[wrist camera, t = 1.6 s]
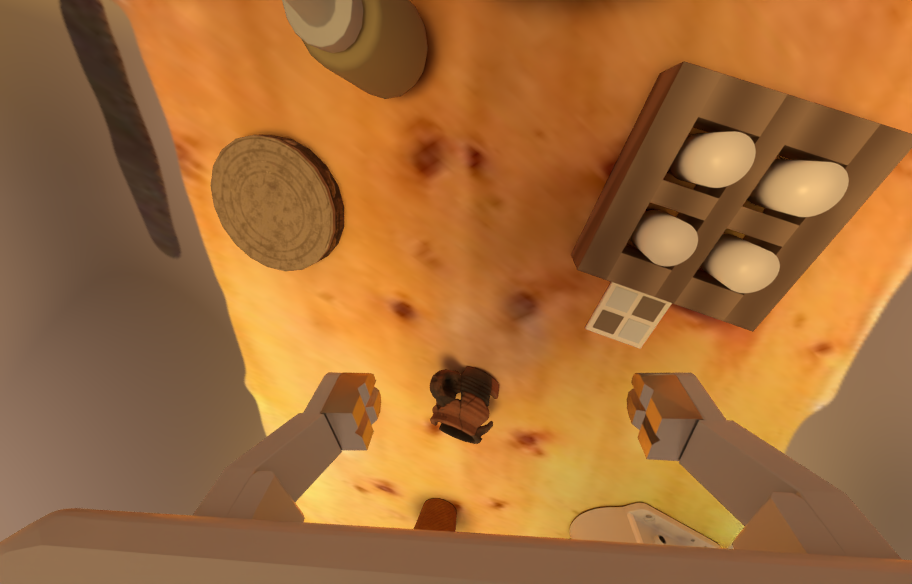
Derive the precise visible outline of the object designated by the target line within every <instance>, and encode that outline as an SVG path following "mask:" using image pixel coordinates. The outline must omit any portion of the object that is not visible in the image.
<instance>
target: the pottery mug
mask: <svg viewBox="0 0 912 584" xmlns="http://www.w3.org/2000/svg"><path fill="white" fill-rule="evenodd" d="M430 391H431V393H432V395H433V397H434V398H435V399H436V402H437V403H436V405H435V406H434V407H433V416H432V417H431V419H430V421H431V423H432V424H434V425H435V426H436V425H437V423H438V422H441V426H440V428H439V429H440V430H441V431H443V432H444V433H446V434H448V435H450V436H452V437H454V438H457V439H459V440H462V441H465V442H469V443H473V444H478V443H480V442H481V440H482V438H481V436H482V435H483V434H485V433H487V432H488V431H489V430H490V428H491V427H492V426H493V422H492V421H490V422H489V423H488V424H487V425H484V426H481V425H482V424H483V423H484V422H485V421H486V420H487V419H488V418H489V409H488V406H489V399H490V395H491V396H492V397H493V398H494V399H497V398H498V393H499V384H498V382H497V381H496V380H495V379H493V378H492V377H491V376H489V375H488V374H486V373H485V372H483V371H481V370H479V369H476V368H473V367H468V366H467V367H466V368H465V371H464V372H463V374H462V375H460V373H459V372H458V371H451V370H447V369H445V370H441V371H438V372H437V373H436V374H435V375H433V377H432V379H431V382H430ZM460 392H461V400H459V399H455V398H456V394H458V393H460Z"/></svg>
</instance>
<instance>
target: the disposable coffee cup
mask: <svg viewBox="0 0 912 584" xmlns="http://www.w3.org/2000/svg"><path fill="white" fill-rule="evenodd" d="M456 514H457V512H456V509H455V508H454V506H453V505H452V504H450V503H449V502H447V501H445V500H442V499H437V498H433V499H429V500H427V501H426V502H425V503H424V505H423V508H422V510H421V513H420V515H419V517H418V520H417V522H416V525H415V527H414V529H418V530H434V531H450V532H455V529H456Z"/></svg>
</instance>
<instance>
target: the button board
mask: <svg viewBox="0 0 912 584" xmlns="http://www.w3.org/2000/svg"><path fill="white" fill-rule="evenodd" d="M692 127H694V128H697V129H700V130H703V131H706V132H709V133H714V132H733V131H735V132H741V133H744V134H746V135H747V136H749V137H750V138H751V139H752V141H753V143H754V145H755V150H756V154H755V159H754V162H753V164H752V166H751V168H750V170H749V171H748V172H747V173H746V174H745V175H744V176H743V177H742V178H741V179H740V180H738V181H737V182H735V183H733V184H731V185H729V186H726V187H721V188H712V187H707V186H703V185H699V184H696V186H695V188H694V189H693V190H692V189H689V188H686V187H683V186H680V185H677V184H674V183H671V182H668V181H665V180H663V178H664V177H665V175H666V173H667V171H668V169H669V168H670V166H671V164H672V162H673V161H674V159H675V157H676V155H677V154H678V152H679V150H680V148H681V146H682V145H683V143H684V141H685V139H686V138H687V136H688V134H689V132H690V131H691V129H692ZM911 148H912V134H911V133H908V132H904V131H901V130H898V129H895V128H892V127H889V126H886V125H882V124H879V123H876V122H873V121H870V120H867V119H864V118H860V117H857V116H854V115H851V114H848V113H845V112H842V111H838V110H835V109H832V108H829V107H826V106H823V105H820V104H817V103H813V102H810V101H807V100H804V99H801V98H798V97H795V96H791V95H788V94H785V93H782V92H779V91H776V90H773V89H769V88H766V87H763V86H760V85H757V84H754V83H751V82H747V81H744V80H741V79H738V78H735V77H732V76H729V75H725V74H722V73H719V72H716V71H713V70H710V69H707V68H703V67H700V66H697V65H694V64H691V63H688V62H685V61H684V62H682V63H680V64H678V65H676V66H674V67H672V68H670V69H668V70H666V71H664V72H662V73H660V74H659V76H658V78H657V81H656V83H655V85H654V87H653V89H652V91H651V93H650V95H649V97H648V99H647V101H646V103H645V105H644V107H643V109H642V111H641V113H640V115H639V117H638V119H637V121H636V123H635V125H634V127H633V129H632V131H631V134H630V136H629V138H628V140H627V142H626V144H625V146H624V148H623V150H622V152H621V154H620V156H619V158H618V160H617V162H616V164H615V166H614V168H613V170H612V172H611V174H610V176H609V178H608V180H607V182H606V184H605V186H604V189H603V191H602V193H601V195H600V197H599V199H598V201H597V203H596V205H595V207H594V209H593V211H592V213H591V215H590V217H589V219H588V221H587V223H586V225H585V227H584V229H583V231H582V233H581V235H580V237H579V239H578V242H577V244H576V246H575V248H574V250H573V252H572V254H571V256H572V258H573V261H574V263H575V265H576V268H577V270H579V271H582V272H585V273H588V274H591V275H593V276H596V277H599V278H602V279H605V280H608V281H610V282H613V283H616V284H619V285H622V286H625V287H628V288H630V289H633V290H636V291H639V292H642V293H645V294H647V295H650V296H653V297H656V298H659V299H662V300H665V301H667V302H670V303H673V304H676V305H679V306H682V307H685V308H687V309H690V310H693V311H696V312H699V313H702V314H704V315H707V316H710V317H713V318H716V319H719V320H722V321H724V322H727V323H730V324H733V325H736V326H739V327H741V328H744V329H747V330H750V331H754V330H755V329H756V328H757V326H758V325H759V324H760V323H761V322H762V321H763V319H764V318H765V317H766V316H767V315H768V314H769V313H770V311H771V310H772V309H773V308H774V307H775V306H776V304H777V303H778V302H779V301H780V300H781V299H782V298H783V296H784V295H785V294H786V293H787V292H788V291H789V289H790V288H791V287H792V286H793V285H794V284H795V283H796V281H797V280H798V279H799V278H800V277H801V276H802V274H803V273H804V272H805V271H806V270H807V269H808V267H809V266H810V265H811V264H812V263H813V262H814V261H815V259H816V258H817V257H818V256H819V255H820V254H821V252H822V251H823V250H824V249H825V248H826V247H827V246H828V244H829V243H830V242H831V241H832V240H833V239H834V237H835V236H836V235H837V234H838V233H839V232H840V230H841V229H842V228H843V227H844V226H845V225H846V224H847V222H848V221H849V220H850V219H851V218H852V217H853V215H854V214H855V213H856V212H857V211H858V210H859V209H860V207H861V206H862V205H863V204H864V203H865V202H866V200H867V199H868V198H869V197H870V196H871V195H872V194H873V192H874V191H875V190H876V189H877V188H878V187H879V185H880V184H881V183H882V182H883V181H884V180H885V178H886V177H887V176H888V175H889V174H890V173H891V172H892V170H893V169H894V168H895V167H896V166H897V165H898V163H899V162H900V161H901V160H902V159H903V158H904V157H905V155H906V154H907V153H908V152H909V151H910V150H911ZM777 155H780V156H783V157H786V158H789V159H792V160H805V161H821V162H833V163H836V164H839V165H840V166H842V167H843V168H844V169H845V170H846V171H847V174H848V177H849V183H848V187H847V190H846V192H845V194H844V196H843V197H842V198H841V200H840V201H839V202H838V203H837V204H836V205H834V206H833V207H832V208H830V209H829V210H827V211H825V212H823V213H821V214H819V215H815V216H811V217H798V216H794V215H791V214H787V213H783V212H779V211H776V210H772V209H768V208H766V209H765V210H764V211H763V213H761V212H758V211H755V210H752V209H749V208H746V207H743V204H744V203H745V201H746V200H747V198H748V197H749V195H750V194H751V193H752V191H753V190H754V188H755V187H756V185H757V184H758V183H759V181H760V180H761V178H762V177H763V175H764V174H765V173H766V171H767V170H768V168H769V167H770V165H771V164H772V162H773V161H774V160H775V158H776V157H777ZM650 202H651V203H654V204H657V205H660V206H663V207H666V208H669V209H672V210H674V211H677V212H679V214H678V215H677V217H676V218H678V219H680V220H682V221H684V222H686V223H688V224H690V225H691V226H692V227H693V228H694V229H695V230H696V232H697V235H698V244H697V247H696V249H695V251H694V253H693V254H692V255H691V256H690V257H689V258H688V259H687V260H685V261H684V262H682V263H680V264H678V265H674V266H660V265H657V264H655V263H653V262H652V261H651V260H650V259H649V258H648V257H647V256H645V255H644V254H643V253H642V252H641V251H640V250H639V249H636V248H634V247H631V246H628V245H626V244H627V242H628V240H629V239H630V237H631V235H632V233H633V231H634V230H635V228H636V226H637V224H638V223H639V221H640V219H641V217H642V215H643V214H644V212H645V210H646V208H647V207H648V205H649V203H650ZM726 228H728V229H731V230H734V231H736V232H739V233H742V234H745V235H746V236H745V237H744V239H743V240H746V241H748V242H750V243H752V244H755V245H757V246H759V247H761V248H764V249H766V250H768V251H770V252H772V253H774V254H775V255H776V256H777V258H778V260H779V263H780V269H779V272H778V275H777V276H776V278H775V279H774V280H773V282H772V283H770V284H769V285H768V286H766V287H765V288H763V289H761V290H759V291H756V292H752V293H738V292H735V291H733V290H731V289H729V288H728V287H727V286H725V285H724V284H722V283H721V282H720V281H718V280H717V279H715V278H714V277H713V276H711V275H710V274H708V273H706V272H703V271H700V270H698V269H699V267H700V266H701V264H702V263H703V261H704V260H705V259H706V257H707V256H708V254H709V253H710V251H711V250H712V249H713V247H714V246H715V244H716V243H717V241H718V240H719V238H720V237H721V236H722V234H723V233H724V231H725V230H726Z"/></svg>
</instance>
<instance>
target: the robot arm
mask: <svg viewBox="0 0 912 584" xmlns="http://www.w3.org/2000/svg"><path fill="white" fill-rule="evenodd" d="M375 383H376V380H375V377H374V374H371V373H327V374H326V375H325V376H324V377H323V379H322V381H321V383H320V384H319V386H318V388H317V390H316V391H315V393H314V395H313V397H312V399H311V400H310V402H309V404H308V406H307V407H306V409H305V411H304V413H299V414H297V415H296V416H295V417H293V418H292V419H290V420H289V421H288V422H286V423H285V424H284V425H282V426H281V427H280V428H278V429H277V430H276V431H274V432H273V433H272V434H270V435H269V436H267V437H266V438H265V439H263V440H262V441H261V442H259V443H258V444H257V445H255V446H254V447H253V448H251V449H250V450H249V451H247V452H246V453H244V454H243V455H242V456H241V457H239V458H238V459H236V460H235V461H234V462H233V463H231V464H230V465H228V466H227V467H226V468H225V469H224V470H223V472H222V473H221V475H220V476H219V478H218V479H217V480H216V482H215V483H214V485H213V486H212V488H211V489H210V491H209V492H208V493H207V495H206V496H205V498H204V499H203V501H202V502H201V504H200V505H199V507H198V508H197V509H196V511H195V512H194V514H193V515H192V516H191V515H175V514H160V513H144V512H127V511H111V510H110V511H109V510H94V509H81V508H71V509H61V510H57V511H54V512H51V513H49V514H47V515H46V516H44V517H42V518H40V519H39V520H36V521H35V522H33V523H31V524H29V525H27V526H26V527H24V528H22V529H21V530H19V531H17V532H16V533H14V534H13V535H11V536H9V537H8V538H6V539H4V540H3V541H1V542H0V584H912V560H902V559H901V558H900V557H899V555H898V554H897V553H896V552H895V551H894V550H893V548H892V547H891V546H890V545H889V544H888V542H887V541H886V540H885V539H884V538H883V537H882V536H881V534H880V533H879V532H878V531H877V530H876V528H875V527H874V526H873V525H872V524H871V523H870V521H869V520H868V519H867V518H866V517H865V516H864V514H863V513H862V512H861V511H860V510H859V509H858V508H857V506H856V505H855V504H854V503H853V501H851V499H850V498H849V497H848V496H847V494H845V493H844V492H842V491H841V490H839V489H838V488H836V487H834V486H833V485H832V484H830V483H828V482H827V481H825V480H824V479H822V478H821V477H819V476H817V475H816V474H814V473H813V472H811V471H810V470H808V469H807V468H805V467H803V466H802V465H801V464H799V463H797V462H796V461H794V460H793V459H791V458H789V457H788V456H787V455H785V454H783V453H782V452H780V451H779V450H777V449H776V448H774V447H773V446H771V445H770V444H768V443H766V442H765V441H763V440H762V439H760V438H759V437H757V436H756V435H754V434H752V433H751V432H749V431H748V430H746V429H745V428H743V427H742V426H740V425H739V424H737V423H735V422H734V421H727V420H726V419H725V417H724V416H723V414H722V413H721V412H720V410H719V409H718V407H717V406H716V405H715V403H714V402H713V400H712V399H711V397H710V396H709V395H708V393H707V392H706V390H705V389H704V387H703V386H702V385H701V383H700V382H699V380H698V379H697V377H696V376H695V375H694V374H692V373H635V375H634V376H633V378H632V385H633V387H634V389H632V390H631V391H630V392H629V393H628V397H627V410H628V414H629V417H630V420H631V422H632V424H633V425H634V426H635V427H636V428H638V429H639V430H640V432H639V435H638V440H639V442H640V444H641V447H642V449H643V452H644V454H645V456H646V459H654V460H671V461H679V463H680V464H681V465H682V466H683V467H684V468H685V469H686V470H687V471H688V472H689V473H690V474H691V475H692V476H693V477H694V478H695V479H696V480H697V481H698V482H699V483H701V484H702V485H703V486H704V487H705V488H706V489H707V490H708V491H709V492H710V493H711V494H712V495H713V496H714V497H715V498H716V499H717V500H718V501H719V502H720V503H721V504H722V505H723V506H724V507H725V508H726V509H727V510H728V511H729V512H730V513H732V514H733V515H734V516H735V517H736V518H737V519H738V520H739V521H740V522H741V523H742V524H743V525H744V526H745V527H744V528H743V530H742V531H741V532H740V533H739V535H738V536H737V537H736V538H735V540H734V542H733V543H732V545H733V547H734V549H724V548H720V546H719V544H717V543H716V542H714V541H712V540H710V539H709V538H707V537H705V536H703V535H701V534H700V533H698V532H696V531H694V530H692V529H690V528H689V527H687V526H685V525H683V524H681V523H680V522H678V521H676V520H674V519H672V518H671V517H669V516H667V515H665V514H663V513H662V512H660V511H658V510H656V509H654V508H653V507H651V506H649V505H647V504H645V503H635V504H631V505H627V506H624V507H606V508H598V509H593V510H590V511H587V512H585V513H583V514H581V515H580V516H578V517H577V518H576V519H575V520H574V521H573V522H572V524H571V526H570V537H571V539H564V538H547V537H531V536H515V535H499V534H483V533H466V532H450V531H434V530H418V529H401V528H385V527H369V526H352V525H336V524H320V523H304V522H303V521H304V519H305V518H304V515H303V513H302V512H301V510H300V509H299V508H298V506H297V505H296V503H295V502H296V501H297V500H298V498H299V497H300V496H301V495H302V494H303V493H304V492H305V491H306V490H307V489H308V488H309V487H310V486H311V484H312V483H313V482H314V481H315V480H316V479H317V478H318V477H319V476H320V475H321V474H322V473H323V472H324V470H325V469H326V468H327V467H328V466H329V465H330V464H331V463H332V462H333V461H334V460H335V459H336V458H337V456H338V455H339V454H340V453H341V452H342V451H341V450H367V449H368V446H369V444H370V441H371V438H372V435H373V432H374V431H373V428H372V424H373V423H374V422H375V421H376V420H377V419H378V417H379V413H380V409H381V395H380V392H379V390H378V389H377V388H375V387H374V385H375Z"/></svg>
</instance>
